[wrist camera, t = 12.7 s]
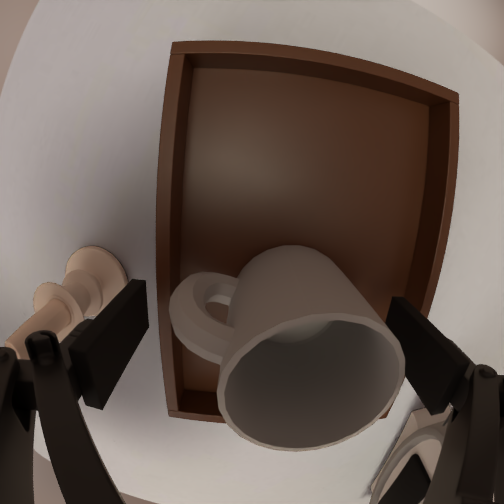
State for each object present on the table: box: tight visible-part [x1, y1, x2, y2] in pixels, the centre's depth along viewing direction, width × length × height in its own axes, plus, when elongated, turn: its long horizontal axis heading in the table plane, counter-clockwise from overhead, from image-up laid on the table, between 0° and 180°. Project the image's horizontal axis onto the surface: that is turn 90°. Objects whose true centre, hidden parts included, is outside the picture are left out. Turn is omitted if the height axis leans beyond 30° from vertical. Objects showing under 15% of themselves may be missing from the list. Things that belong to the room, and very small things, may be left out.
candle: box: [5, 246, 128, 360], centre depth 14 cm, size 5×5×10 cm
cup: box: [169, 245, 405, 452], centre depth 14 cm, size 7×10×9 cm
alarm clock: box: [369, 405, 451, 504], centre depth 19 cm, size 23×6×13 cm, turn 0°
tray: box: [156, 41, 459, 423], centre depth 17 cm, size 24×17×3 cm
